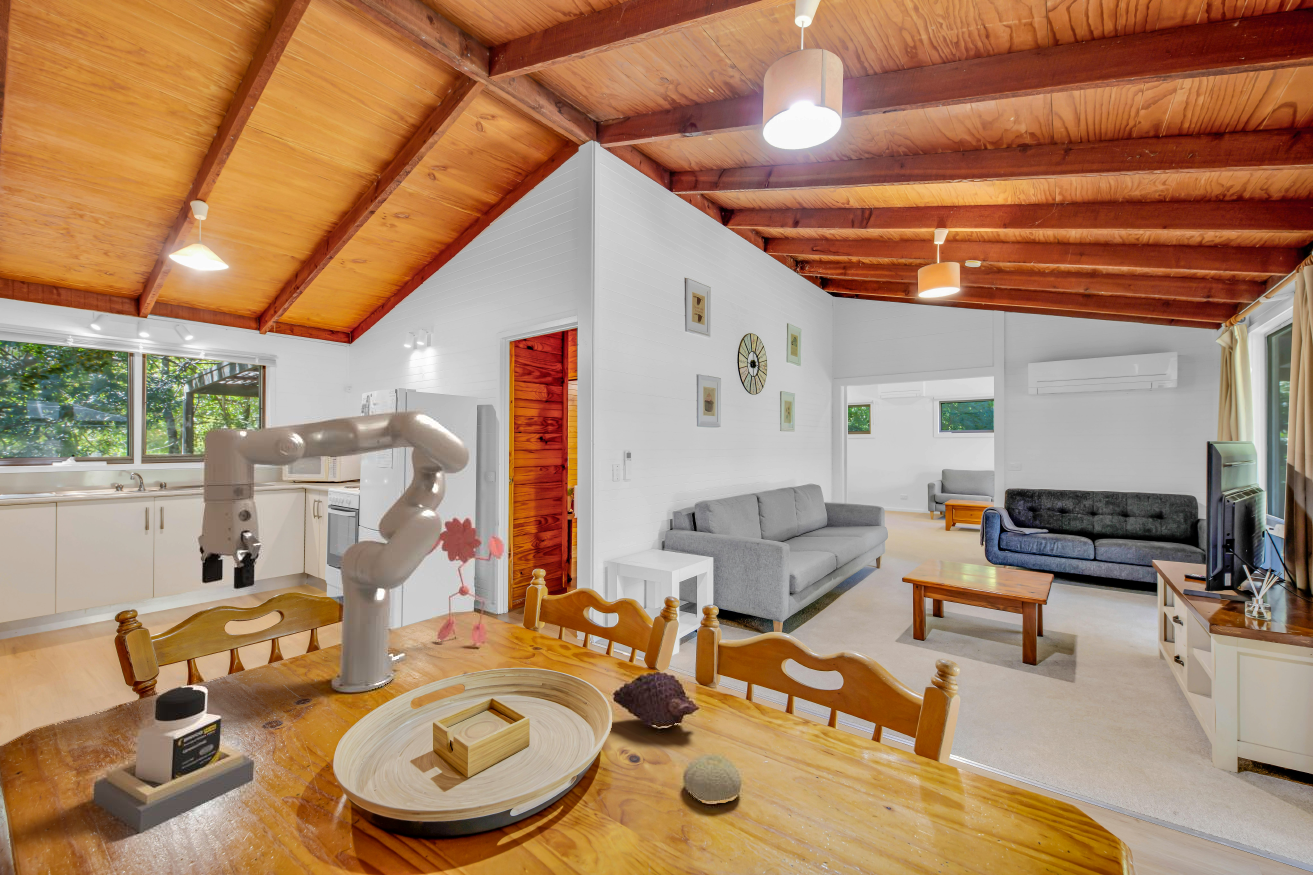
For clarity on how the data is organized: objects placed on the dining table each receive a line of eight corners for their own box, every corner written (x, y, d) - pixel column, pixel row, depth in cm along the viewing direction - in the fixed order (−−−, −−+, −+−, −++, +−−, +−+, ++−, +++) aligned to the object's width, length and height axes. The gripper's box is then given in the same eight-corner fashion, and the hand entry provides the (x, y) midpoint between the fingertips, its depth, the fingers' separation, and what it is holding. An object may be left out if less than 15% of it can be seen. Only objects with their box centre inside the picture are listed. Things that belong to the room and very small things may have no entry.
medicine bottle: (171, 786, 80) (176, 702, 81) (133, 779, 82) (138, 697, 82) (220, 760, 87) (224, 683, 87) (184, 754, 89) (188, 678, 89)
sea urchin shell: (747, 766, 91) (741, 748, 86) (740, 822, 86) (734, 806, 81) (693, 755, 94) (685, 737, 89) (683, 808, 89) (674, 792, 84)
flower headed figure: (433, 633, 159) (436, 512, 160) (512, 644, 152) (515, 517, 152) (393, 652, 145) (397, 518, 145) (479, 665, 137) (482, 524, 138)
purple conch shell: (604, 729, 106) (606, 676, 107) (622, 707, 116) (623, 659, 116) (694, 744, 101) (696, 689, 102) (705, 720, 111) (706, 669, 111)
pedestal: (205, 756, 93) (206, 731, 94) (253, 779, 87) (254, 752, 87) (93, 802, 81) (94, 772, 81) (139, 832, 75) (141, 801, 75)
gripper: (279, 494, 105) (277, 584, 104) (223, 490, 111) (222, 575, 111) (235, 497, 98) (234, 594, 98) (179, 493, 104) (177, 583, 104)
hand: (227, 584), depth 104 cm, fingers open, 9 cm apart
